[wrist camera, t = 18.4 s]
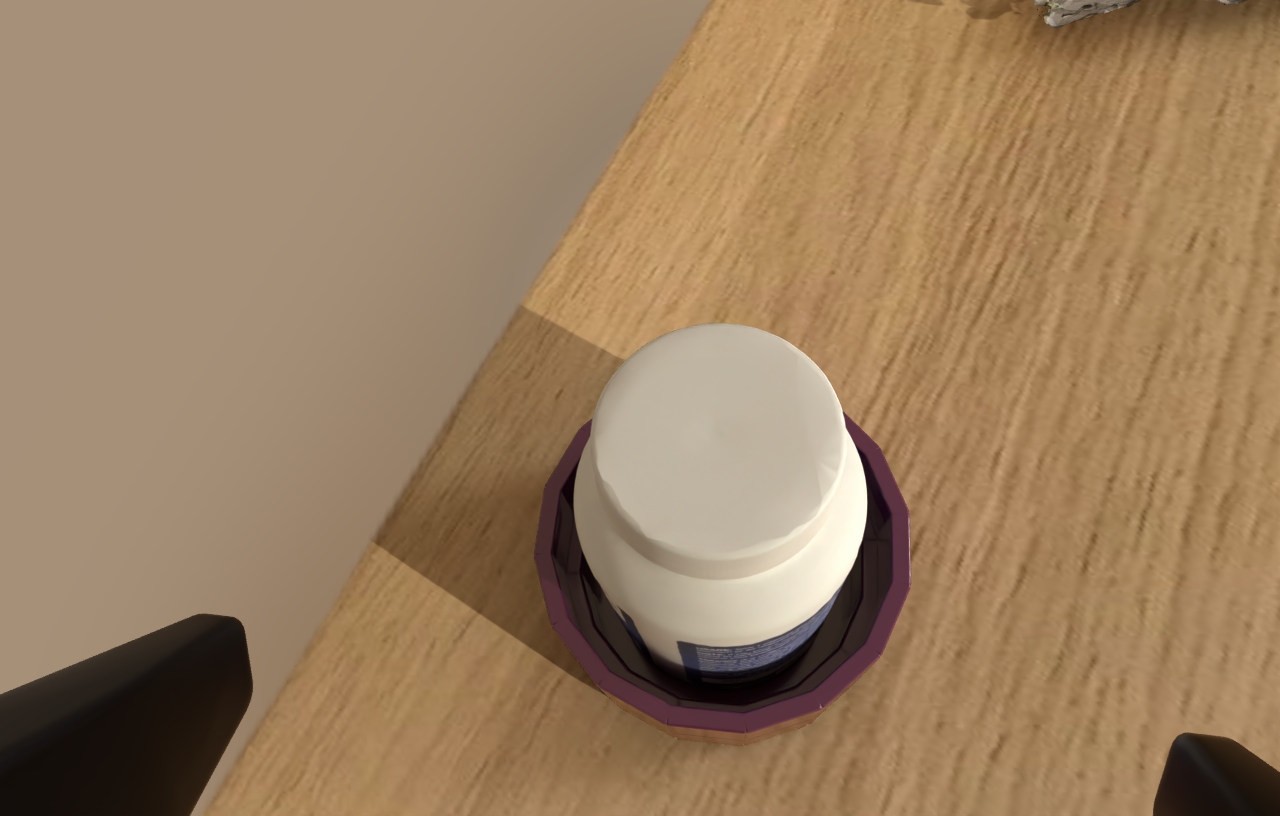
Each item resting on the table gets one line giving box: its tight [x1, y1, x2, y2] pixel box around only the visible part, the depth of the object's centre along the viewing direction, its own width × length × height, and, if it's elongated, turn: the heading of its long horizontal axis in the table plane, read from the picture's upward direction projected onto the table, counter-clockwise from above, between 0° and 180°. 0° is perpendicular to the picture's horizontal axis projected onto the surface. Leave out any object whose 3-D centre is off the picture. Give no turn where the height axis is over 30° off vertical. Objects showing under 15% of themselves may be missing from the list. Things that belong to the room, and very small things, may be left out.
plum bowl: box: [534, 411, 911, 746], centre depth 21 cm, size 8×8×4 cm
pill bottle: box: [574, 323, 867, 689], centre depth 18 cm, size 5×5×10 cm
